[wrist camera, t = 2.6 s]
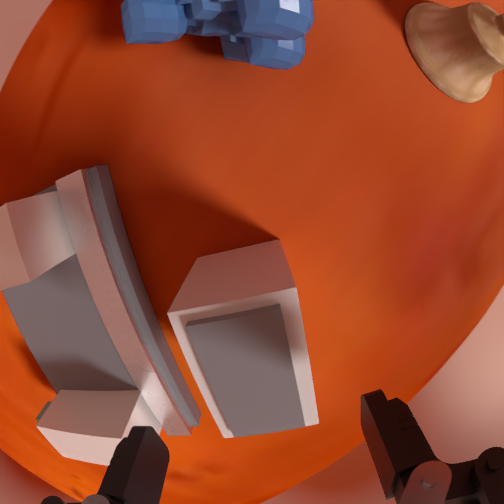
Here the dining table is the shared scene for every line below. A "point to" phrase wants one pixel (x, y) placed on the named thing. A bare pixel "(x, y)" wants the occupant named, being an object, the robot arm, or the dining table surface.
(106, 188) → the rail board
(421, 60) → the hand bell
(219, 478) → the dining table surface
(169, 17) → the grapes
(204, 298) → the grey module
